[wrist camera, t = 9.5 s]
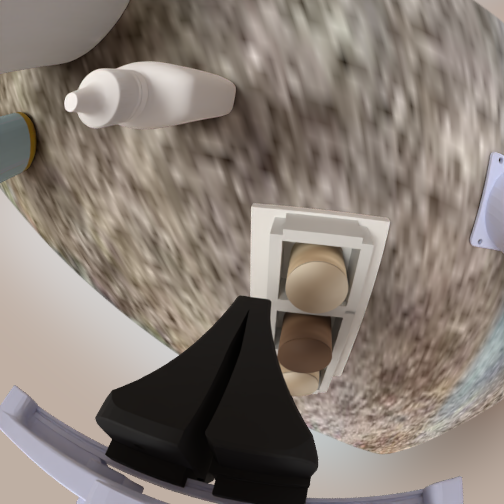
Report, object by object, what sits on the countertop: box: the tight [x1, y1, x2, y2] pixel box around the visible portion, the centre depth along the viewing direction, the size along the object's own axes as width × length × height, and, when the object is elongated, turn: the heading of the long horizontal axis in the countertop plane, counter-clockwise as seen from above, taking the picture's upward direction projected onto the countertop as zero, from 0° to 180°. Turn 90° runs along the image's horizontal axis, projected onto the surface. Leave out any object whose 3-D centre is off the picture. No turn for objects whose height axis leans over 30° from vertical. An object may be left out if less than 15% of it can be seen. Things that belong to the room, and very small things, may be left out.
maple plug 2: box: [279, 363, 319, 396], centre depth 24 cm, size 4×4×4 cm
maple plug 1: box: [285, 242, 348, 313], centre depth 19 cm, size 4×4×4 cm
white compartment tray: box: [250, 203, 390, 394], centre depth 23 cm, size 10×18×4 cm, turn 0°
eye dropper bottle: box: [64, 61, 236, 129], centre depth 12 cm, size 4×6×12 cm
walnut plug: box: [277, 312, 332, 373], centre depth 21 cm, size 4×4×4 cm
